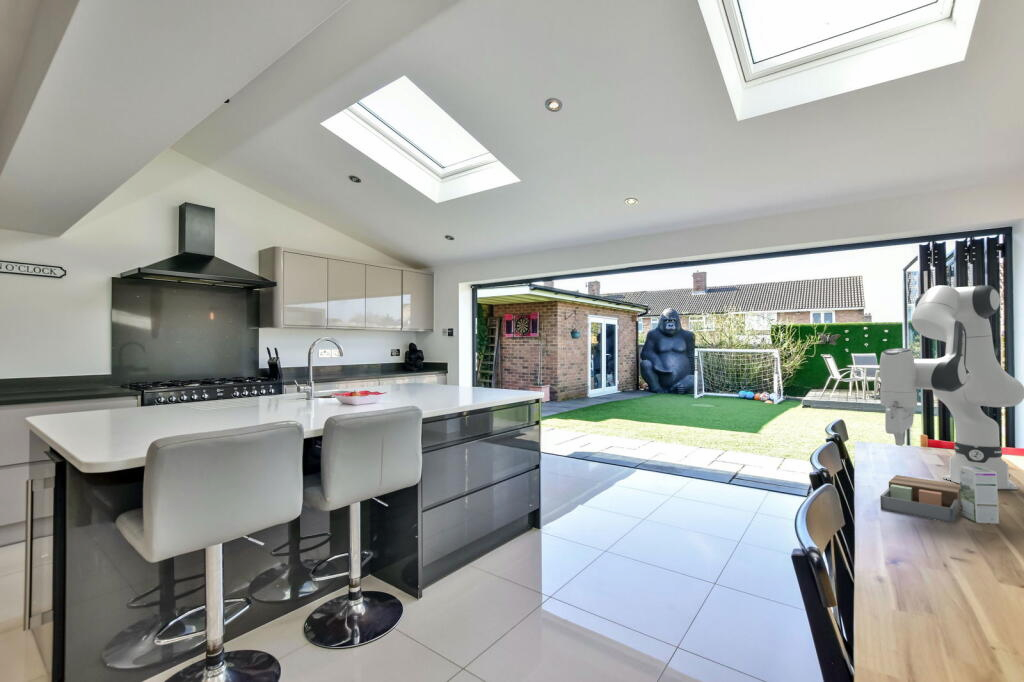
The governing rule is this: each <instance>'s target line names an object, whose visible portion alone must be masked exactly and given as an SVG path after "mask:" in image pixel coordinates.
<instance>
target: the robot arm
mask: <svg viewBox="0 0 1024 682" xmlns="http://www.w3.org/2000/svg"><path fill="white" fill-rule="evenodd" d="M914 303H915V304H914V305H915V306H914V307H915V309H914V310H913V313H912V316H911V325H912V327H913V329H914V330H915V332H917V333H918V334H919V335H921V336H923V337H925V338H928V339H932V340H936V341H940V342H944V343H945V354H944V356H941V357H937V358H915V357H914V352H913V350H912V349H911V348H907V347H906V348H905V347H898V348H897V347H895V348H888V349H885V350H883V351H882V352H881V353H880V358H879V365H878V368H879V369H878V370H879V372H878V373H879V379H880V385H881V386H880V389H879V398H880V399H879V400H880V401H879V402H880V406H882V407H885V417H884V418H885V419H884V420H885V422H884V423H885V425H884V427H885V432H886V434H890V435H893V436H894V440H895V442H894V443H895V445H896V446H899V447H901V446H902V447H903V446H904V445H906V443H905V442H906V441H905V438H906V434H907V433H906V431H907V430H909V429H910V428H912V427H913V423H914V418H915V417H914V416H915V415H914V414H915V408H917V407H918V397H917V396H918V393H917V389H918V390H931V391H932V393H933V395H934V396H935V397H936V399H938V400H939V401H941V403H943V404H944V405H945V406H946V407H947V409H948V410H949V412H950V414H951V416H952V418H953V421H954V429H955V442H954V454H952V455H951V456H950V457H949V467H948V468H949V469H948V470H949V472H948V474H945V475H943V476H942V479H943V478H944V479H943V480H946V479H947V481H950V480H951V481H950V482H954V483H955V484H960V468H959V467H963V466H975V467H982V468H985V469H989V470H992V471H995V472H997V490H1019V489H1018V485H1016V484H1015V483H1014V482H1013V481H1012V480H1011V479H1010V477H1011V474H1010V473H1009V464H1008V463H1007V462H1006V461H1005V460H1004V459H1003V458H1002V457H1003V449H1002V446H1001V445H1000V443H1001V442H1000V425H999V423H998V422H997V421H996V420H995V419H993V418H991V417H990V416H987V414H985V412H984V411H983V410H982V408H981V407H982V406H983V407H991V408H1008V407H1016V406H1018V405H1019V404H1021V403H1022V402H1023V400H1024V385H1023V383H1022V382H1021V381H1020V380H1019V379H1017V378H1014V377H1013V376H1012V375H1010V374H1009V373H1008V372H1007V371H1006V370H1004V368H1003V367H1002V366H1001V364H1000V363H999V361H998V358H997V357H996V353H995V347H994V341H993V332H992V327H991V322H990V320H989V318H990V316H992V315H994V314H995V313H996V312H997V311H998V310H999V308H1000V303H1001V296H1000V295H999V291H998V290H997V288H995V287H993V286H991V285H987V284H986V285H983V284H978V285H976V286H974V285H973V286H972V285H971V286H957V287H953V286H949V285H944V284H943V285H940V284H939V285H935V286H931V287H930V288H928V289H927V290H926V292H923V293H922V294H920V295H919V296H917V298H916V300H915V302H914ZM967 372H968V374H967Z"/></svg>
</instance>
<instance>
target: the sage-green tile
mask: <svg viewBox="0 0 1024 682" xmlns="http://www.w3.org/2000/svg"><path fill="white" fill-rule="evenodd" d="M890 496H891V498H897V499H903V500H908V501H913V492H912V488H911V487H905V486H899V485H893V484H892V485H891V486H890Z"/></svg>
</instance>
